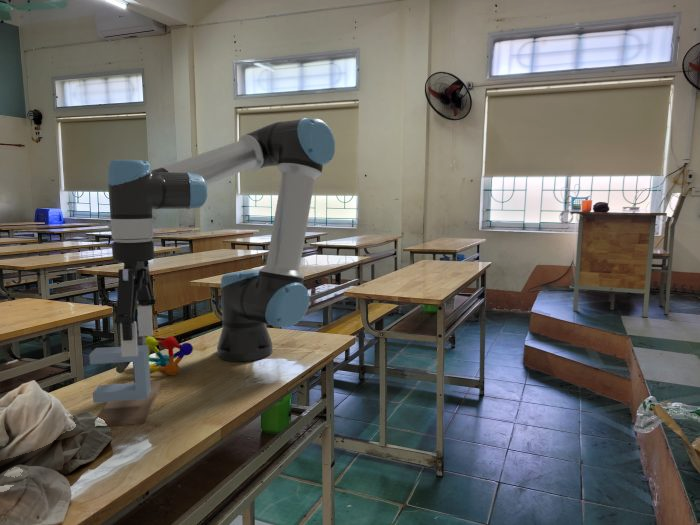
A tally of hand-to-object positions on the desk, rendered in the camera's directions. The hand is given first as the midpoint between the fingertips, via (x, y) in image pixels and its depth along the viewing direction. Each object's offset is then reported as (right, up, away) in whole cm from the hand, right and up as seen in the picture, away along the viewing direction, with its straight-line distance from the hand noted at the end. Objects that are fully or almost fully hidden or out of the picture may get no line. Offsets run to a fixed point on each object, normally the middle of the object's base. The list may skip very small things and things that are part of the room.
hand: (138, 345), depth 99 cm
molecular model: (-5, -11, +25) cm, 28 cm away
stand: (-4, -14, +6) cm, 15 cm away
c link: (-4, -11, +1) cm, 11 cm away
